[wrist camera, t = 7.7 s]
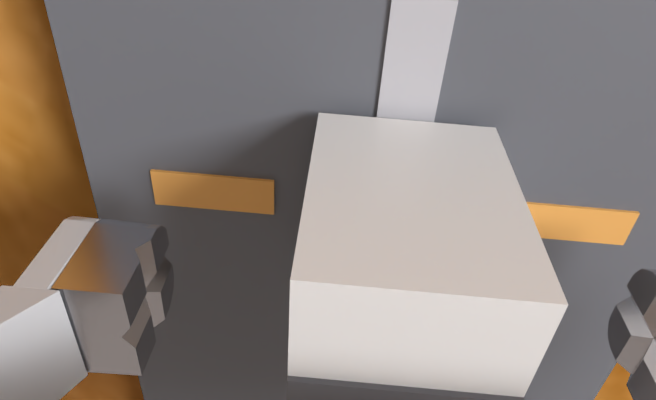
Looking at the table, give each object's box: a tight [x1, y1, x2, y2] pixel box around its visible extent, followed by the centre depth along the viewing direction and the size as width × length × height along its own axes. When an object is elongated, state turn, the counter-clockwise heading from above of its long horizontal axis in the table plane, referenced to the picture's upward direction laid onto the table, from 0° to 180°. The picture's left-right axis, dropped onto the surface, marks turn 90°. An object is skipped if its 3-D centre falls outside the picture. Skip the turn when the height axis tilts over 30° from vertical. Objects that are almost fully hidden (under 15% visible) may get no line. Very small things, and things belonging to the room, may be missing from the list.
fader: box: [286, 113, 568, 400], centre depth 8 cm, size 4×3×4 cm
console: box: [44, 0, 656, 400], centre depth 14 cm, size 26×12×2 cm, turn 177°
